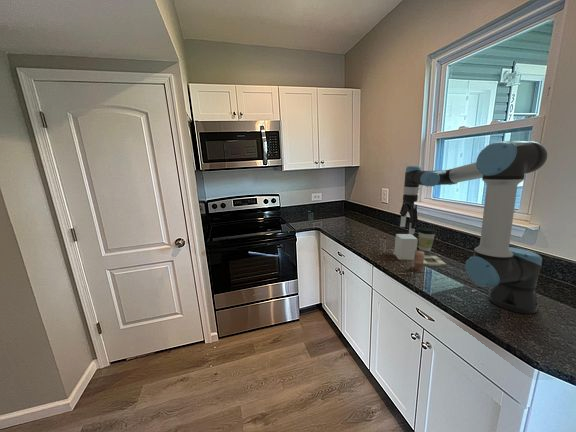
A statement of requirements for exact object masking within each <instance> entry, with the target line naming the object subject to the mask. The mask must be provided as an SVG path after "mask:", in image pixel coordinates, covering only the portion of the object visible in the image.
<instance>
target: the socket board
mask: <svg viewBox="0 0 576 432" xmlns="http://www.w3.org/2000/svg"><path fill="white" fill-rule="evenodd" d="M427 260H433V261H427ZM424 266H427V267H428V266H429V267H447V263H446V262H444V261H443V260H442V259H440V257H438V256H437V255H424V262H423V267H424Z"/></svg>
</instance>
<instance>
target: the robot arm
mask: <svg viewBox="0 0 576 432" xmlns="http://www.w3.org/2000/svg"><path fill="white" fill-rule="evenodd" d="M547 159H548V151H547V149H546V148H545V146H544V145H542V144H541V143H539V142H537V141H530V140H529V141H528V140H523V141H522V140H521V141H520V140H503V141H495V142H492V143H490V144H488V145H486V146H485V147H484V148H483V149H482V150H480V152H479V153H478V154H477V157H476V159H475V162H472V163H469V164H464V165H461V166H456V167H454V168H450V169H443V170H422V167H421V166H419V165H409V166H408V165H407V166H406V168H405V173H404V185H403V195H402V204H401V208H400V211H399V214H400V223H399V227H400V228H406V222H407V216H408V215H407V214H409V220H410V221H409V225H408V227H409V228H408V234H412V235H415V231H416V229H415V228H416V223H418V222H419V221H418V219H419V218H418V210H417V209H418V205H417V204H415V202H416V203H417V202H418V200H419V195H418V194H419V192H420V191H419V190H420V186H425V187H435V186H440V185H441V186H442V185H443V186H445V185H447V186H448V185H449V186H450V185H456V184H458V183H461V182H466V181H467V182H468V181H473V180H478V179H481V180H482V181H483V182H484V183H485V185H486V189H485V196H484V206H483V213H482V214H483V215H482V223H481V231H480V241H479V245H478V246H475V248H474V251H473V256H470V257H469V258H467V259H466V261H465V271H466V274H467V275H468V276H469V278H470V280H472V281H473V282H474V283H475V284H477V285H479V286H481V287H485V288H486V287H487V288H488V287H491V288H490V290H489V292H488V300H489V301H490V302H492V303H493V305H496V306H498V307H500V308H502V309H504V310H507V311H509V310H510V311H509V312H513V311H514V312H513V313H517V312H519V313H518V314H523V313H525V314H524V315H528V314H529V315H533V314H535V313H537V311H538V308H539V304H538V300H537V295H536V288H537V284H538V279H539V276H540V272H541V269H542V266H543V265H542V262H543V258H542V255H540V254H538V253H536V252H533V251H531V250H526V249H521V248H519V247H513V246H510V242H511V235H512V227H513V221H514V213H515V206H516V199H517V193H518V192H517V191H518V186H519V184H520V183H522V182H523V181H524V180H525V177H526V176H525V175H527V174H530V173H534V172H535V171H538V170H539V169H541V168H542V167H543V166H544V165H545V163H546V161H547Z"/></svg>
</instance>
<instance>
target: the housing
mask: <svg viewBox="0 0 576 432" xmlns="http://www.w3.org/2000/svg"><path fill="white" fill-rule="evenodd" d="M418 242H419V238H417V237H416V236H414V234H409V233H395V241H394V252H393V253H394V254H395V255H396V256H397V257H398V258H399V259H405V260H404V261H414V257H415V251H417V250H418V249H417V248H418ZM394 254H393V255H394ZM395 255H394V256H395ZM396 256H395V257H396ZM397 257H396V258H397ZM398 258H397V259H398Z"/></svg>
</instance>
